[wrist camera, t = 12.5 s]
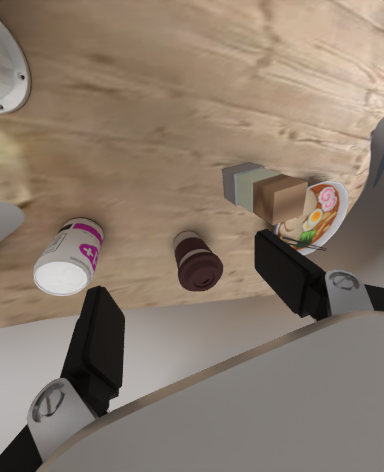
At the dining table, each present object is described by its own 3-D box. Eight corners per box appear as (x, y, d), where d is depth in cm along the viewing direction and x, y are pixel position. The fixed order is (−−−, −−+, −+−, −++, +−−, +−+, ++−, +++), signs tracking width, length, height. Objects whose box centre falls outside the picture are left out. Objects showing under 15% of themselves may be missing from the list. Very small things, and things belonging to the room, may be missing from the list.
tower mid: (236, 175, 37) (252, 182, 32) (262, 168, 38) (282, 173, 33) (237, 203, 40) (252, 213, 35) (262, 195, 41) (279, 204, 36)
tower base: (222, 169, 42) (234, 174, 37) (249, 162, 43) (264, 166, 38) (224, 197, 46) (235, 205, 41) (249, 190, 47) (263, 197, 42)
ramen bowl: (340, 189, 55) (369, 197, 49) (297, 249, 64) (317, 263, 57) (285, 160, 45) (312, 165, 38) (243, 237, 54) (259, 252, 47)
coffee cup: (170, 225, 45) (184, 261, 33) (206, 226, 48) (231, 259, 36) (167, 257, 50) (178, 299, 37) (200, 256, 53) (220, 294, 40)
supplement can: (99, 215, 39) (83, 254, 27) (107, 246, 43) (97, 292, 31) (56, 218, 37) (18, 262, 25) (69, 251, 41) (42, 303, 29)
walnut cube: (252, 182, 32) (274, 192, 27) (281, 173, 33) (308, 181, 28) (252, 212, 35) (272, 225, 30) (279, 203, 36) (302, 215, 31)
